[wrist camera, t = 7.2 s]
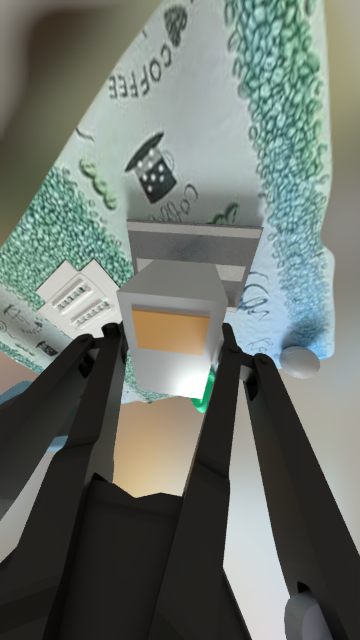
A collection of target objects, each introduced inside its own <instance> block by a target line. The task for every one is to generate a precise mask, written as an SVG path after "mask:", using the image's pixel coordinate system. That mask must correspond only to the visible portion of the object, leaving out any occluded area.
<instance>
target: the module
mask: <svg viewBox="0 0 360 640" xmlns="http://www.w3.org/2000/svg"><path fill="white" fill-rule="evenodd" d="M116 294H117V299H118V303H119V307H120V312H121V316H122V320H123V325H124V329H125V333H126V338H127V342H128V346H129V351H130V355H131V360H132V364H133V368H134V373H135V377H136V381H137V386H138V390H142V391H150V392H157V393H164V394H171V395H178V396H185V397H192V398H199V399H202V397H203V394H204V390H205V386H206V383H207V379H208V375H209V372H210V368H211V364H212V361H213V357H214V354H215V350H216V346H217V343H218V339H219V335H220V332H221V328H222V324H223V321H224V317H225V314H226V310H227V306H228V303H229V302H228V299H227V296H226V293H225V290H224V288H223V285H222V282H221V279H220V276H219V273H218V271H217V268H216V265H215V264H211V263H198V262H185V261H172V260H159V259H154V260H153V261H152V262H151V263H149V264H148V265H147V266H146V267H145V268H143V269H142V270H141V271H140V272H139V273H137V274H136V275H135V276H134V277H133V278H131V279H130V280H129V281H128V282H127V283H125V284H124V285H123V286H122V287H121V288H120V289H118V290H117V291H116Z"/></svg>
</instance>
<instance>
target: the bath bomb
mask: <svg viewBox="0 0 360 640" xmlns="http://www.w3.org/2000/svg"><path fill="white" fill-rule="evenodd" d="M279 361H280V365H281V367H282V368H283V369H284V371H285V372H287V373H288V374H289V375H291V376H293V377H296V378H310V377H312V376H314V375H316V374H317V373H318V371H319V368H320V361H319V359H318V357H317V356H316V354H315V353H313V352H312V351H311V350H309V349H307V348H305V347H301V346H291V347H288V348H286V349H284V350H283V351H282V352H281V354H280V358H279Z"/></svg>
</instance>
